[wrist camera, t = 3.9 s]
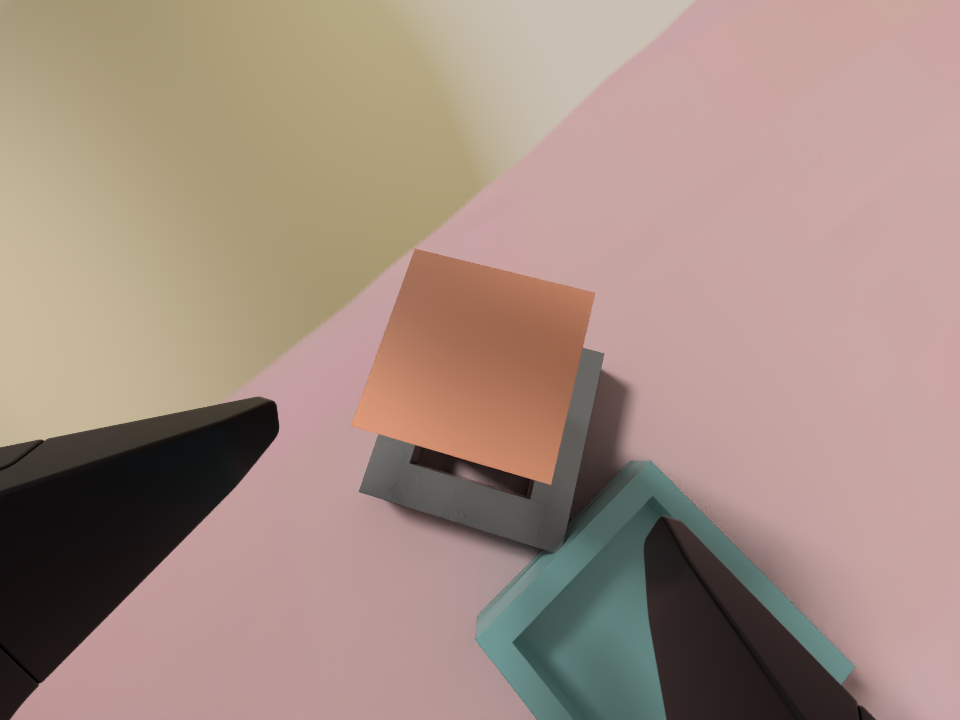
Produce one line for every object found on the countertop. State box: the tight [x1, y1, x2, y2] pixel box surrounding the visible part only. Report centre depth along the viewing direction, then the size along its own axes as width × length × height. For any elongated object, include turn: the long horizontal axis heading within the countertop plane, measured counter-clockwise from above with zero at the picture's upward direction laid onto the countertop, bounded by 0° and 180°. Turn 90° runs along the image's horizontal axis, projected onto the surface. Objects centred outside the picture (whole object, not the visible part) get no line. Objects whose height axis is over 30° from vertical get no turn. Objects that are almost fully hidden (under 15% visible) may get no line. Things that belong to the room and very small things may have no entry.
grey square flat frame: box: [359, 348, 604, 553], centre depth 19 cm, size 9×9×2 cm
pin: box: [351, 249, 595, 485], centre depth 13 cm, size 4×4×13 cm
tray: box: [475, 461, 855, 720], centre depth 16 cm, size 10×10×2 cm
